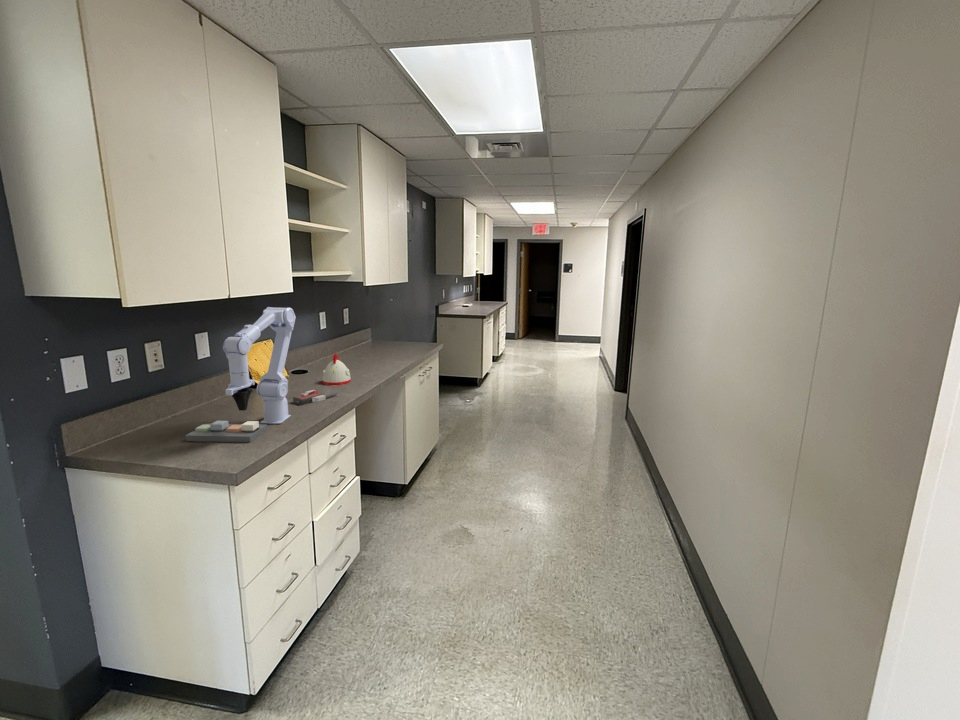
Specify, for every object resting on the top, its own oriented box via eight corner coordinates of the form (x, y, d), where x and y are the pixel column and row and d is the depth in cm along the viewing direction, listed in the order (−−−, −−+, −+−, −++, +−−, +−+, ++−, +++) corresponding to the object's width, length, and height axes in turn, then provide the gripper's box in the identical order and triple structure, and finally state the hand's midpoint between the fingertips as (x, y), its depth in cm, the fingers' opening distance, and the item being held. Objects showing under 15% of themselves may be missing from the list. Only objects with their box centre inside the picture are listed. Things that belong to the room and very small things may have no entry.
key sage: (203, 432, 159) (202, 424, 158) (214, 432, 159) (213, 424, 158) (196, 436, 155) (195, 428, 154) (207, 436, 155) (206, 428, 154)
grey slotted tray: (207, 428, 162) (207, 423, 162) (267, 429, 162) (267, 424, 162) (186, 441, 151) (185, 435, 150) (250, 442, 151) (250, 436, 150)
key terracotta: (233, 432, 158) (232, 424, 158) (244, 433, 158) (243, 425, 158) (227, 437, 155) (226, 428, 154) (238, 437, 154) (237, 429, 154)
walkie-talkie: (303, 407, 190) (339, 396, 207) (302, 397, 190) (338, 387, 207) (289, 404, 195) (326, 393, 212) (289, 394, 194) (325, 384, 211)
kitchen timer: (319, 385, 224) (318, 356, 222) (326, 379, 238) (324, 351, 235) (348, 385, 226) (346, 356, 223) (352, 379, 239) (351, 351, 236)
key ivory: (248, 429, 158) (247, 421, 158) (259, 429, 158) (258, 421, 157) (242, 433, 154) (241, 424, 154) (253, 433, 154) (252, 425, 154)
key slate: (217, 428, 158) (217, 420, 158) (229, 428, 158) (228, 420, 158) (211, 432, 154) (210, 424, 154) (222, 432, 154) (221, 424, 154)
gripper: (239, 367, 159) (243, 403, 162) (214, 376, 145) (219, 416, 148) (259, 367, 159) (262, 403, 162) (236, 376, 145) (239, 416, 147)
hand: (242, 409), depth 155 cm, fingers closed
